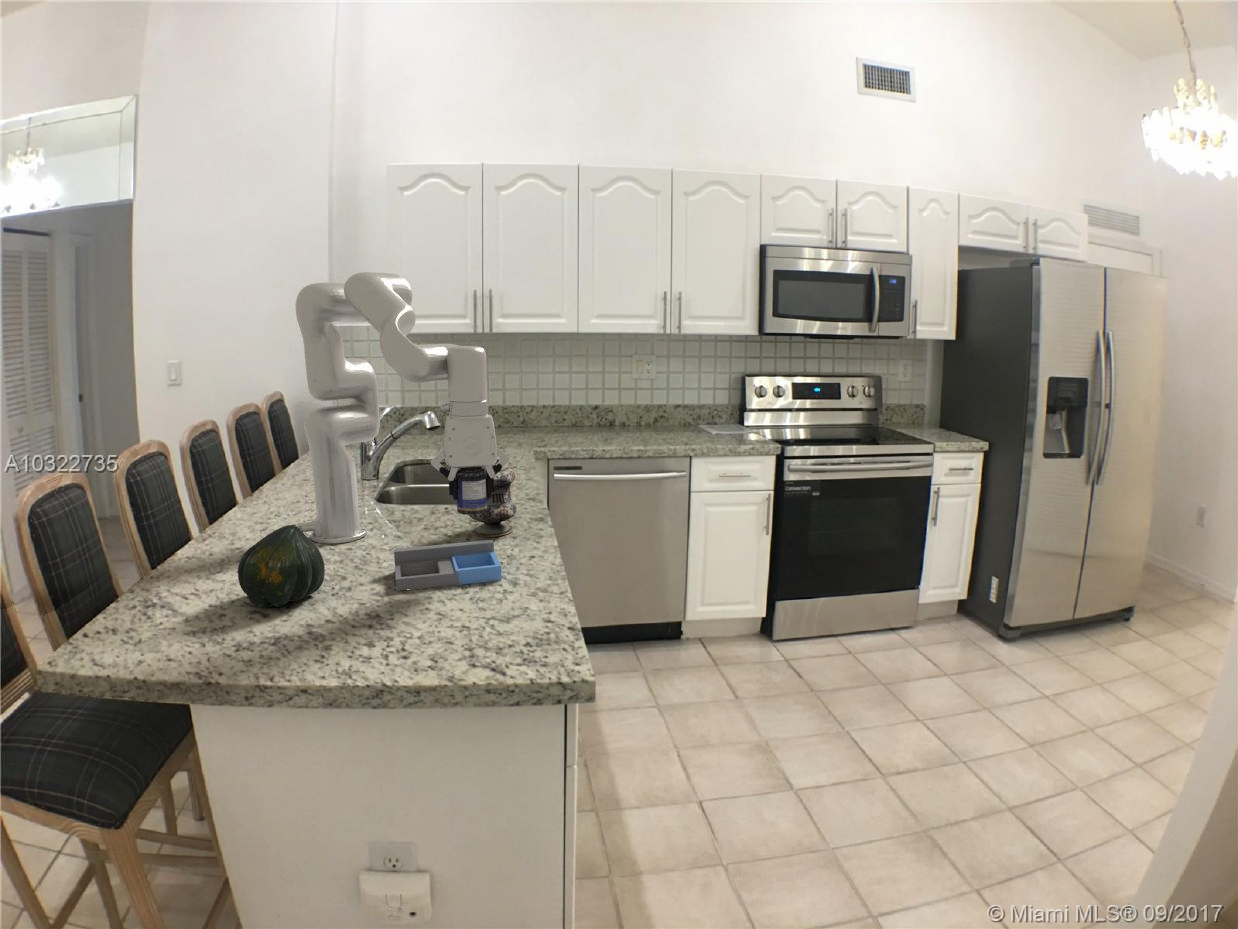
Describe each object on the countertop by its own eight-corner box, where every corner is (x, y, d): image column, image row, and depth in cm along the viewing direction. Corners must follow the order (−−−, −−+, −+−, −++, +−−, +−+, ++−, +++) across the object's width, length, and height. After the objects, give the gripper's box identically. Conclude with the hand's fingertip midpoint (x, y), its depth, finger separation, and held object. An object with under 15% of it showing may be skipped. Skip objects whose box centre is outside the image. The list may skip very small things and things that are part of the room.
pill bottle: (459, 507, 147) (457, 455, 145) (489, 507, 148) (487, 455, 146) (455, 515, 141) (452, 461, 139) (486, 515, 142) (484, 461, 140)
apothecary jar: (521, 525, 182) (520, 456, 178) (510, 539, 170) (508, 466, 167) (476, 523, 183) (473, 455, 179) (461, 537, 171) (458, 465, 168)
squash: (206, 586, 126) (257, 525, 124) (249, 561, 141) (296, 506, 139) (270, 636, 127) (322, 577, 126) (306, 606, 142) (353, 552, 140)
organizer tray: (396, 591, 138) (395, 567, 137) (395, 571, 149) (393, 549, 148) (501, 580, 144) (500, 556, 143) (493, 561, 155) (492, 539, 154)
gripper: (424, 413, 134) (429, 505, 138) (515, 410, 139) (517, 498, 143) (422, 408, 141) (426, 495, 145) (508, 405, 146) (510, 490, 150)
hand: (471, 496), depth 144 cm, fingers closed on pill bottle, 6 cm apart
